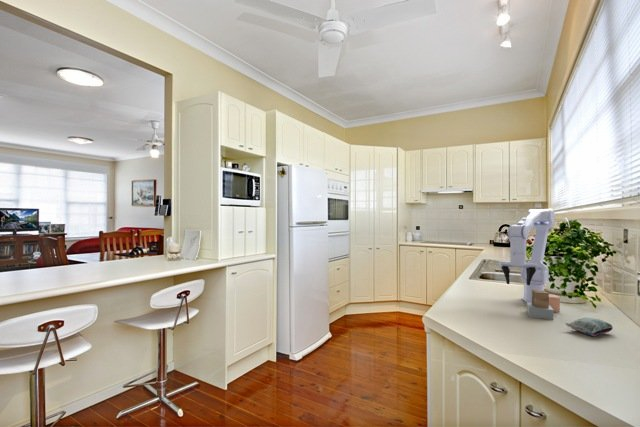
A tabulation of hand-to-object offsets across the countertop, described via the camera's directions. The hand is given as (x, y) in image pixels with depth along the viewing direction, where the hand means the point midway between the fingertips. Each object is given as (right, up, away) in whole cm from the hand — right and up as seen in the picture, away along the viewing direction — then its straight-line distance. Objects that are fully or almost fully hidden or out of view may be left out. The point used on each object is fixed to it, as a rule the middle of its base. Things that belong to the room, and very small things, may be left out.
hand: (517, 284), depth 140 cm
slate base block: (+3, -11, -9) cm, 15 cm away
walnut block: (+3, -7, -10) cm, 12 cm away
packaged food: (+7, -11, -28) cm, 31 cm away
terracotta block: (+13, -11, -2) cm, 17 cm away
